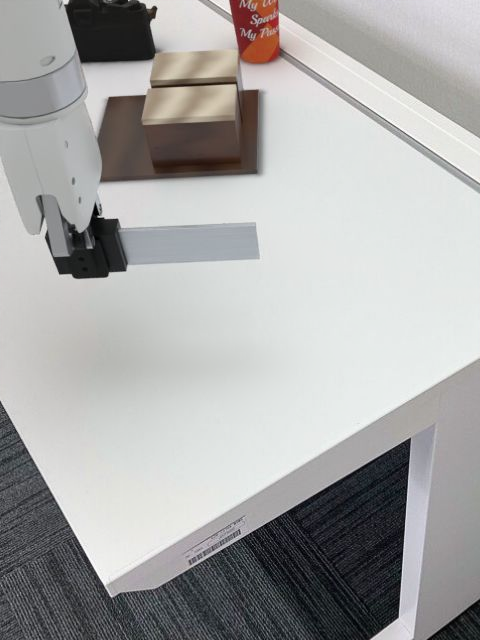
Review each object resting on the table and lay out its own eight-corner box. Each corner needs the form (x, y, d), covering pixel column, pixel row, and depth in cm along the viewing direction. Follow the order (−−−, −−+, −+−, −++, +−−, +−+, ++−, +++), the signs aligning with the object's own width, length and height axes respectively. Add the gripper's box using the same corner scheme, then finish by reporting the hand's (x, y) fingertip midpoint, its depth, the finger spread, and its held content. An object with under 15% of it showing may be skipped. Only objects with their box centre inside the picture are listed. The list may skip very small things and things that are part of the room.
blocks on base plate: (89, 184, 95) (71, 129, 89) (110, 102, 108) (95, 50, 102) (257, 175, 96) (250, 120, 90) (259, 95, 108) (253, 42, 103)
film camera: (155, 22, 124) (141, -42, 116) (170, 58, 116) (156, -9, 108) (42, 42, 120) (20, -23, 112) (49, 80, 112) (27, 13, 105)
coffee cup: (250, 75, 112) (238, -31, 101) (222, 53, 117) (207, -51, 105) (298, 57, 115) (291, -47, 104) (269, 37, 120) (259, -66, 109)
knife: (59, 275, 69) (44, 237, 65) (63, 258, 70) (49, 221, 67) (259, 265, 70) (255, 228, 66) (259, 249, 71) (255, 212, 68)
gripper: (2, 27, 61) (67, 210, 75) (-53, 145, 50) (34, 332, 64) (98, 24, 61) (145, 207, 75) (63, 140, 51) (125, 327, 65)
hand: (94, 263), depth 69 cm, fingers closed on knife, 2 cm apart
